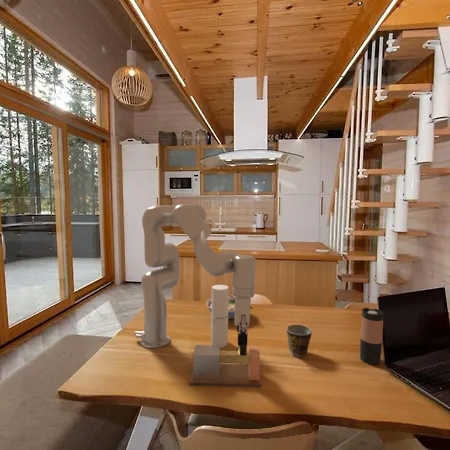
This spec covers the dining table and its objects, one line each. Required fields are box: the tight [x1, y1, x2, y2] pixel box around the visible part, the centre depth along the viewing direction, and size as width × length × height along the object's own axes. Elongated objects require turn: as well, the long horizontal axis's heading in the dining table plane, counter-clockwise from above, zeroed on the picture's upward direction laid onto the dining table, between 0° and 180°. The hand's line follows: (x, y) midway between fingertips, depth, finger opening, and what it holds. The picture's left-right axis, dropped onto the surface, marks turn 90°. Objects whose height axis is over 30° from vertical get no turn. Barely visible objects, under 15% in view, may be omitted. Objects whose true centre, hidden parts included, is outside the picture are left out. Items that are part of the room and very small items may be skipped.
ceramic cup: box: [286, 324, 313, 358], centre depth 121 cm, size 13×10×10 cm
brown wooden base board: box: [188, 344, 262, 388], centre depth 106 cm, size 24×12×9 cm, turn 89°
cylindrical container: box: [210, 284, 229, 348], centre depth 129 cm, size 7×7×25 cm
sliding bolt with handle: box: [220, 327, 250, 364], centre depth 105 cm, size 16×3×12 cm, turn 89°
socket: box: [248, 345, 261, 380], centre depth 105 cm, size 3×7×8 cm, turn 179°
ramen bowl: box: [206, 293, 253, 320], centre depth 160 cm, size 25×23×8 cm
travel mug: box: [359, 307, 384, 366], centre depth 117 cm, size 8×8×20 cm
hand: (241, 338), depth 105 cm, fingers open, 9 cm apart
